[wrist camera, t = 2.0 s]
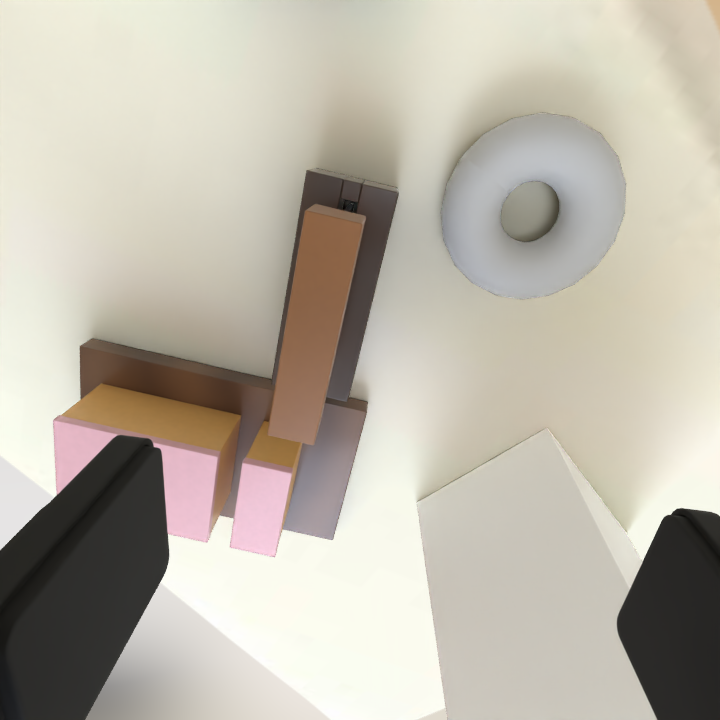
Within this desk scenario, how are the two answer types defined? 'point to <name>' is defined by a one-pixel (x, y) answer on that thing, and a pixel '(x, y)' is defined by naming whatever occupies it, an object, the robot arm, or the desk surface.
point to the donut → (524, 164)
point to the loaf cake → (169, 433)
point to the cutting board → (242, 423)
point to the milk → (530, 591)
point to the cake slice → (264, 493)
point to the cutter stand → (379, 214)
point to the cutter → (314, 320)
